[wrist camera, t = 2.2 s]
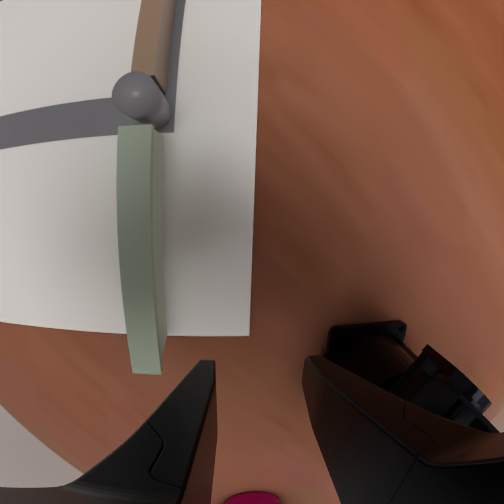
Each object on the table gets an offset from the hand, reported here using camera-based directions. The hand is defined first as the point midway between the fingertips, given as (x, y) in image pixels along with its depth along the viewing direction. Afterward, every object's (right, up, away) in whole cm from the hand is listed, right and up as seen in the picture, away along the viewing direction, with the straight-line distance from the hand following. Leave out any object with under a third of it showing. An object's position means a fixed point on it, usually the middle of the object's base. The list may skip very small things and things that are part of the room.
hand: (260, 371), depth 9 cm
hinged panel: (-6, +4, +10) cm, 12 cm away
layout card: (-11, +11, +9) cm, 18 cm away
